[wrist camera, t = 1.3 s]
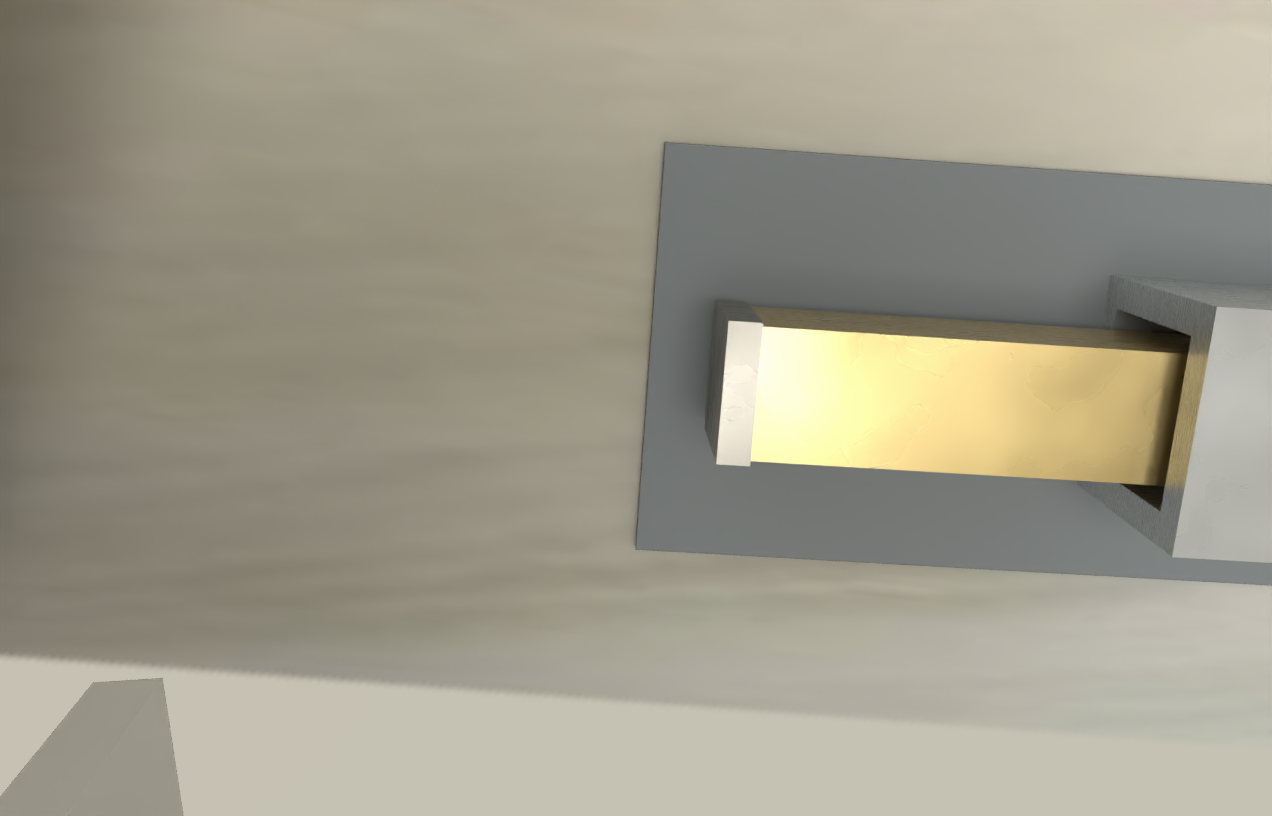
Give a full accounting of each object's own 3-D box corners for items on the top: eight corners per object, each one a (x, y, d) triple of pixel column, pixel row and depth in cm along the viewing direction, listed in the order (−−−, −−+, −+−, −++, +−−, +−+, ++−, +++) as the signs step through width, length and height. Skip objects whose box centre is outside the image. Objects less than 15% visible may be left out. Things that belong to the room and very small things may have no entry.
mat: (636, 545, 34) (636, 549, 33) (665, 142, 31) (665, 142, 31) (1639, 602, 35) (1647, 606, 35) (1744, 218, 32) (1754, 219, 32)
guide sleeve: (1073, 481, 34) (1172, 557, 28) (1106, 273, 32) (1216, 306, 26) (1249, 492, 34) (1383, 569, 28) (1289, 285, 33) (1438, 321, 27)
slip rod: (704, 428, 32) (716, 464, 28) (715, 299, 31) (728, 320, 28) (1301, 464, 32) (1380, 503, 29) (1326, 339, 32) (1411, 364, 28)
